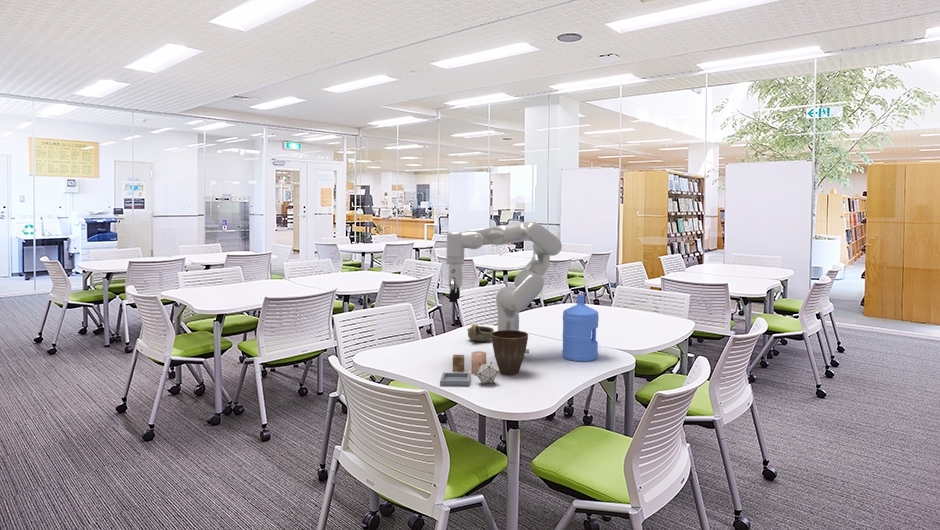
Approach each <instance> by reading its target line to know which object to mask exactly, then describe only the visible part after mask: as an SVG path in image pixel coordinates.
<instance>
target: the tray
mask: <svg viewBox="0 0 940 530" xmlns="http://www.w3.org/2000/svg"><path fill="white" fill-rule="evenodd" d="M471 374H472V372H442V375H441V377H440V380H439V387H470V386H471V385H470V384H471V378H472V377H471V376H472V375H471Z"/></svg>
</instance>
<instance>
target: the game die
mask: <svg viewBox="0 0 940 530" xmlns="http://www.w3.org/2000/svg"><path fill="white" fill-rule="evenodd" d="M479 365H480V367H479V369H478V372H477V374H474V376H475V377H477V378H478V379H479V381H480V382H481V385H480V386H483V385H484V384H491V383H492V384H493V385H495V384H496V383H495V380H496V377H497V375H498V373H500V371H498V370H497V369H496V368H495V367H494V365H493V362H492V361H490V363H486V364H482V365H481V364H480V363H479Z"/></svg>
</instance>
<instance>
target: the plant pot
mask: <svg viewBox="0 0 940 530" xmlns="http://www.w3.org/2000/svg"><path fill="white" fill-rule="evenodd" d="M491 336H492V339H491V341H492V349H493V354H495V356H494V358H495V360H496V364H497V368H498V370H499V373H500V374H502V375H505V376H512V375H513V376H514V375H517V374H519V372H520V369H521V367H522V365H523V361H524V358H525V355H526V353H525V351H526V349H527V345H528V340H529V339H528V338H529V333H528V332H525V331H521V330H519V331H515V330H501V331H498V330H496V331H495V330H494V332H493V333H491Z"/></svg>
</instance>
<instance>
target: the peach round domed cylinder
mask: <svg viewBox="0 0 940 530" xmlns="http://www.w3.org/2000/svg"><path fill="white" fill-rule="evenodd" d="M470 363H471V374H473V375H475V374H477V372H478V369H479V367H480V365H479V363H480V364H481V365H482V364H487V352H485V351H480V350H479V351H478V350H477V351H472V352H471V362H470Z"/></svg>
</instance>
